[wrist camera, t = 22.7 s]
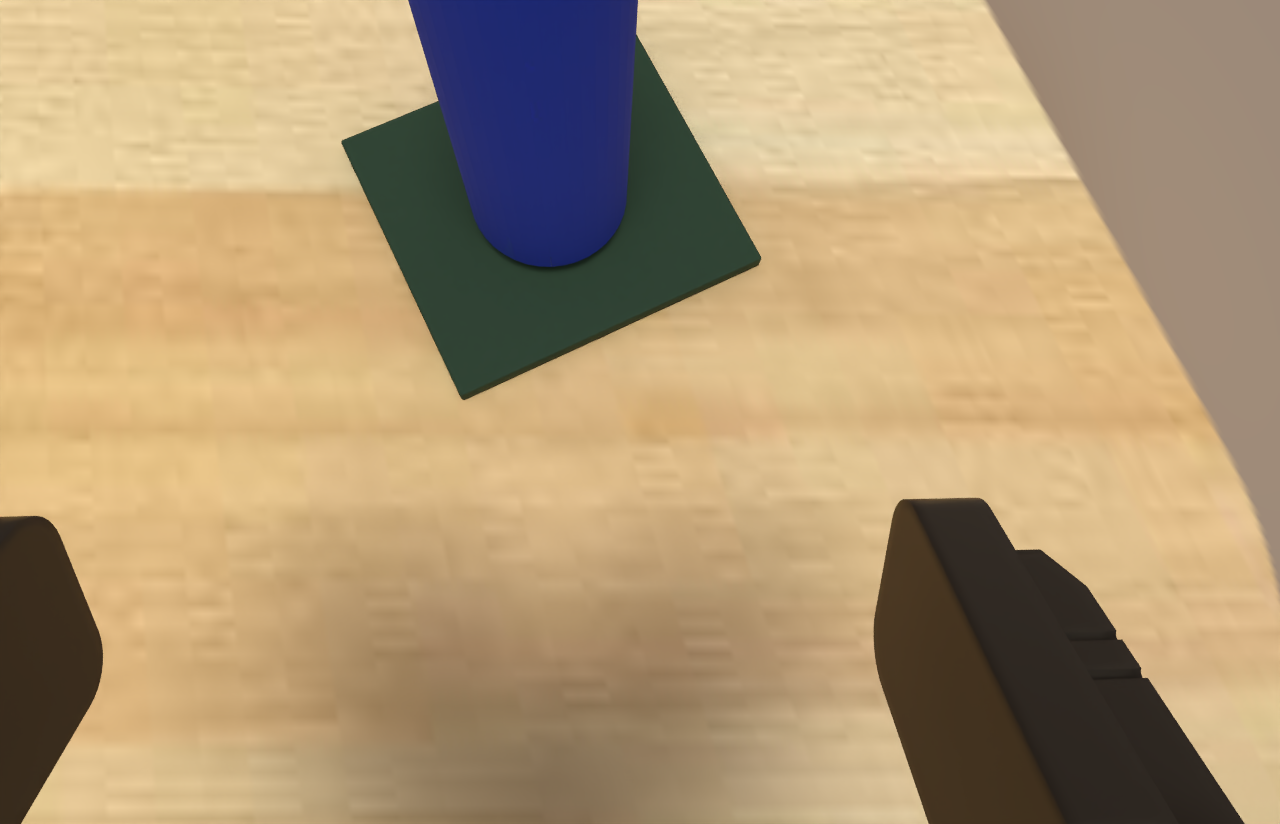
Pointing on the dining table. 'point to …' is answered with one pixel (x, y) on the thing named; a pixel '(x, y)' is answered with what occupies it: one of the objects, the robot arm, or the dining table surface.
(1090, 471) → the dining table surface
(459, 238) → the mat
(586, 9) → the beverage can
